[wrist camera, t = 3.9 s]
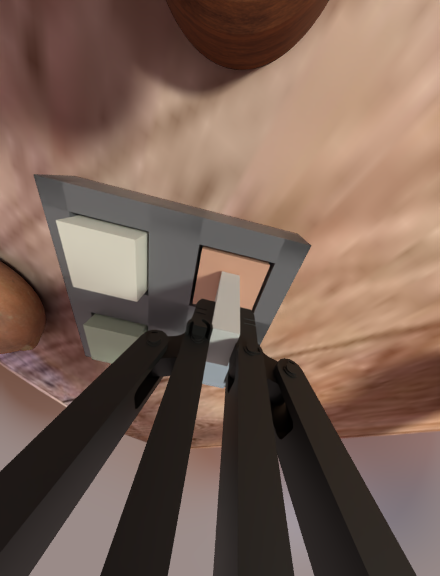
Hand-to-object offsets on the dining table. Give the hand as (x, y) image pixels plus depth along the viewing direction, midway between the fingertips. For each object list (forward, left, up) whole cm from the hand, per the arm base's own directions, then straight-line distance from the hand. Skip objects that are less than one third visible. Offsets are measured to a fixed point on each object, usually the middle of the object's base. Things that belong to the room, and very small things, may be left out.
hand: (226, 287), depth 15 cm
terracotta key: (0, 0, -2) cm, 2 cm away
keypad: (+5, +5, -4) cm, 8 cm away
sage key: (+10, +10, -1) cm, 14 cm away
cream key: (+10, 0, -1) cm, 10 cm away
